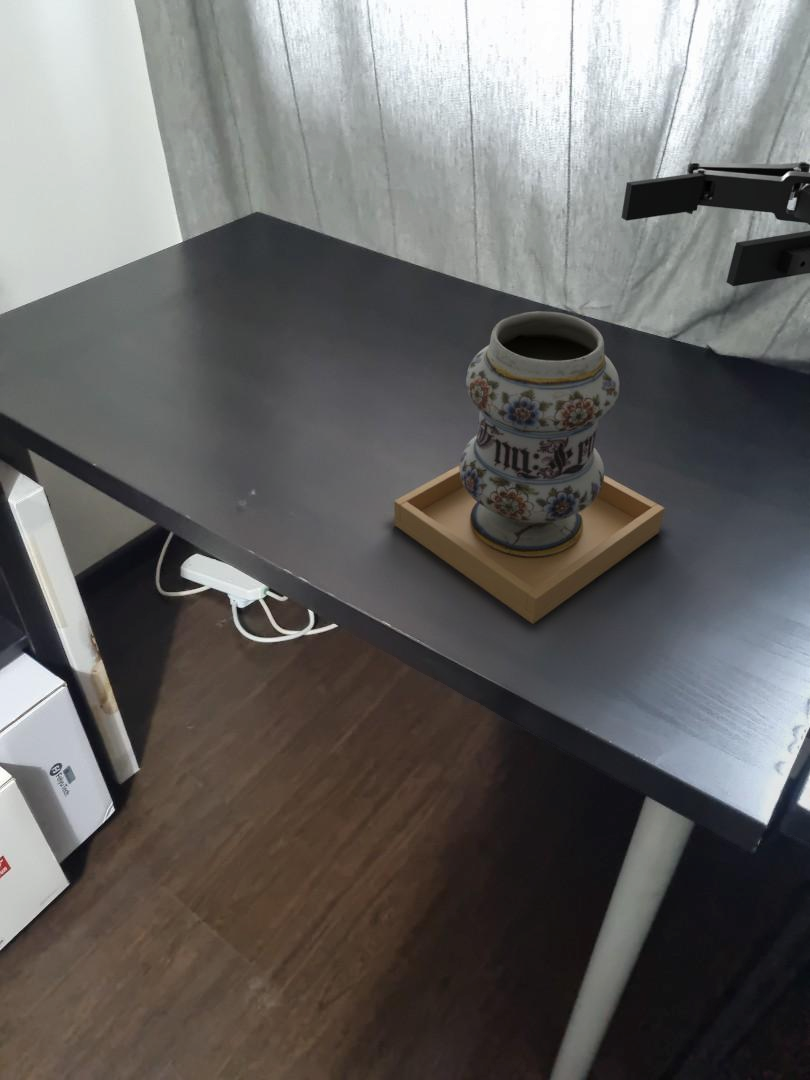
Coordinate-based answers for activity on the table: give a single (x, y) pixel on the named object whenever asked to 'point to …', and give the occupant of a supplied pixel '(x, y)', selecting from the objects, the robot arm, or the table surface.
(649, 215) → the robot arm
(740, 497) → the table surface
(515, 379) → the apothecary jar
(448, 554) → the tray
